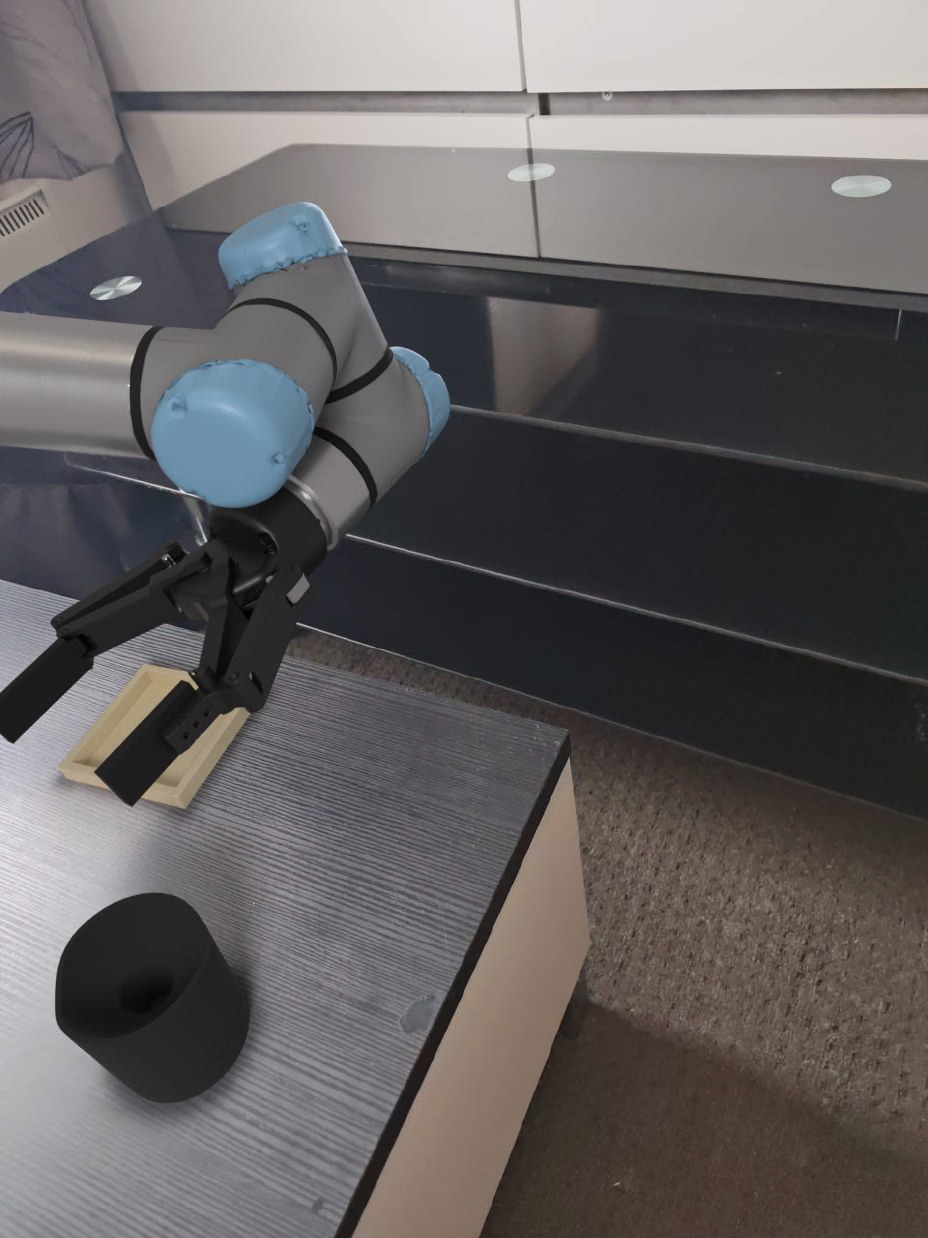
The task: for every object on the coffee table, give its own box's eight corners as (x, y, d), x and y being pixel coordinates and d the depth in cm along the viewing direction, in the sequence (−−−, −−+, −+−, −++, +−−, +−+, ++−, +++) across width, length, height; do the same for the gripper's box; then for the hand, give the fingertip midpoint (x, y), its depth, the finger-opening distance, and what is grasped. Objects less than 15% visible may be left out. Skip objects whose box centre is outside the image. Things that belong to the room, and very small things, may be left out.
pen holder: (282, 992, 62) (235, 915, 55) (205, 1135, 56) (142, 1068, 49) (172, 952, 65) (115, 876, 59) (88, 1083, 59) (14, 1014, 53)
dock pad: (68, 781, 79) (57, 767, 78) (152, 678, 88) (143, 663, 86) (186, 811, 75) (177, 797, 73) (263, 699, 83) (256, 684, 82)
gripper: (447, 580, 56) (216, 865, 46) (208, 539, 72) (-5, 744, 62) (398, 483, 52) (129, 775, 41) (154, 461, 67) (-86, 669, 57)
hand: (48, 757), depth 51 cm, fingers open, 13 cm apart
